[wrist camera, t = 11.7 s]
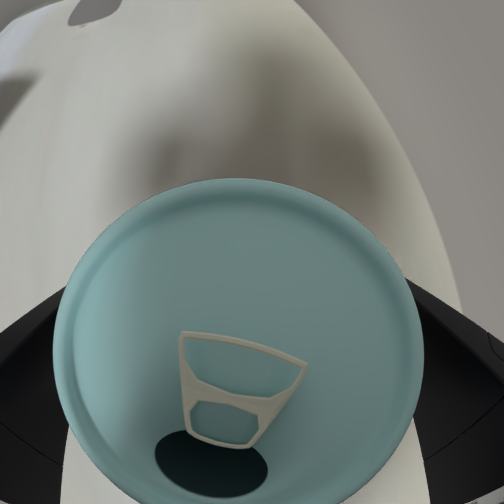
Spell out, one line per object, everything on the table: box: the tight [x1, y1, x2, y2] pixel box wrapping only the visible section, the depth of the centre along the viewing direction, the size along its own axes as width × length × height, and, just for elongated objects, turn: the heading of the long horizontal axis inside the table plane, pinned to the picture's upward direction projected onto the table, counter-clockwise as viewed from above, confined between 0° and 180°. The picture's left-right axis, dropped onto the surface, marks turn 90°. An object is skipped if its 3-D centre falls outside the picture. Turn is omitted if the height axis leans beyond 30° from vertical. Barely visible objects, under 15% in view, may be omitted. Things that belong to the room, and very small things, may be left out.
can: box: [53, 178, 424, 504], centre depth 9 cm, size 7×7×12 cm
